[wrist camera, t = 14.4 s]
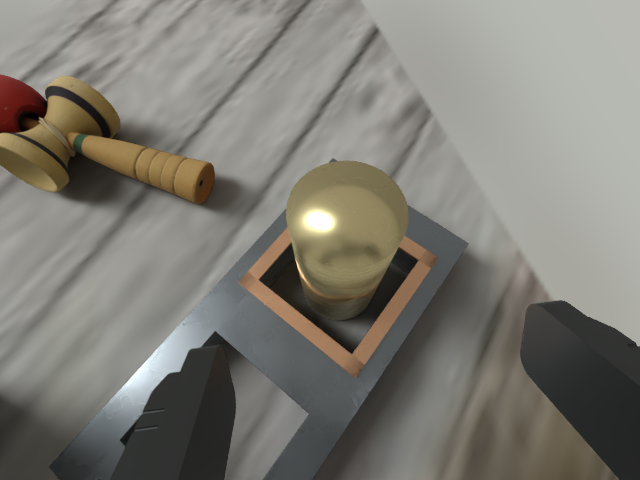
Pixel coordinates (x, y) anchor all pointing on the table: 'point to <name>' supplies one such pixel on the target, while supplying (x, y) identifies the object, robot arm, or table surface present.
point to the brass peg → (344, 234)
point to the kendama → (83, 140)
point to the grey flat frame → (277, 350)
